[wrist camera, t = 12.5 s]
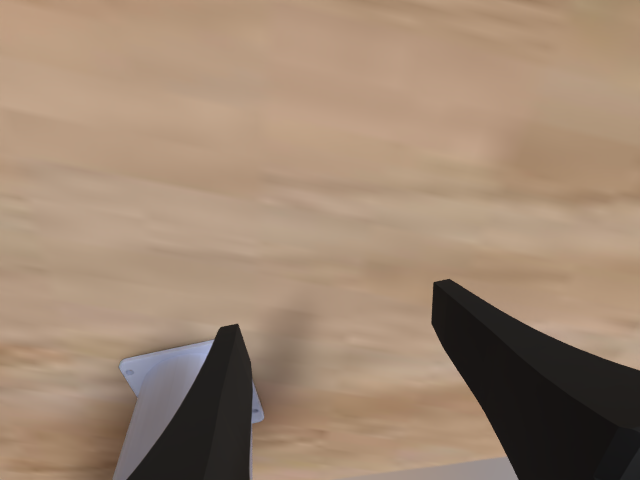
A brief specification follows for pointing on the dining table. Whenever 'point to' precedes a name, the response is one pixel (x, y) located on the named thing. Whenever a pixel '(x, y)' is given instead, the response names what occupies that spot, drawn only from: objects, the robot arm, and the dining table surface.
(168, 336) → the dining table surface
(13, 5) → the dining table surface
